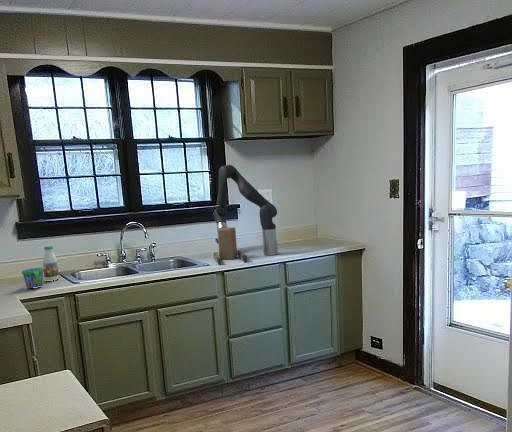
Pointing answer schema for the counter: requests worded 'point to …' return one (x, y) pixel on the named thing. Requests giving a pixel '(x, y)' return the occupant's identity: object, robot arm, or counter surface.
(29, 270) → the snack cup
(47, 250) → the milk bottle
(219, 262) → the lane
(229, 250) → the block
